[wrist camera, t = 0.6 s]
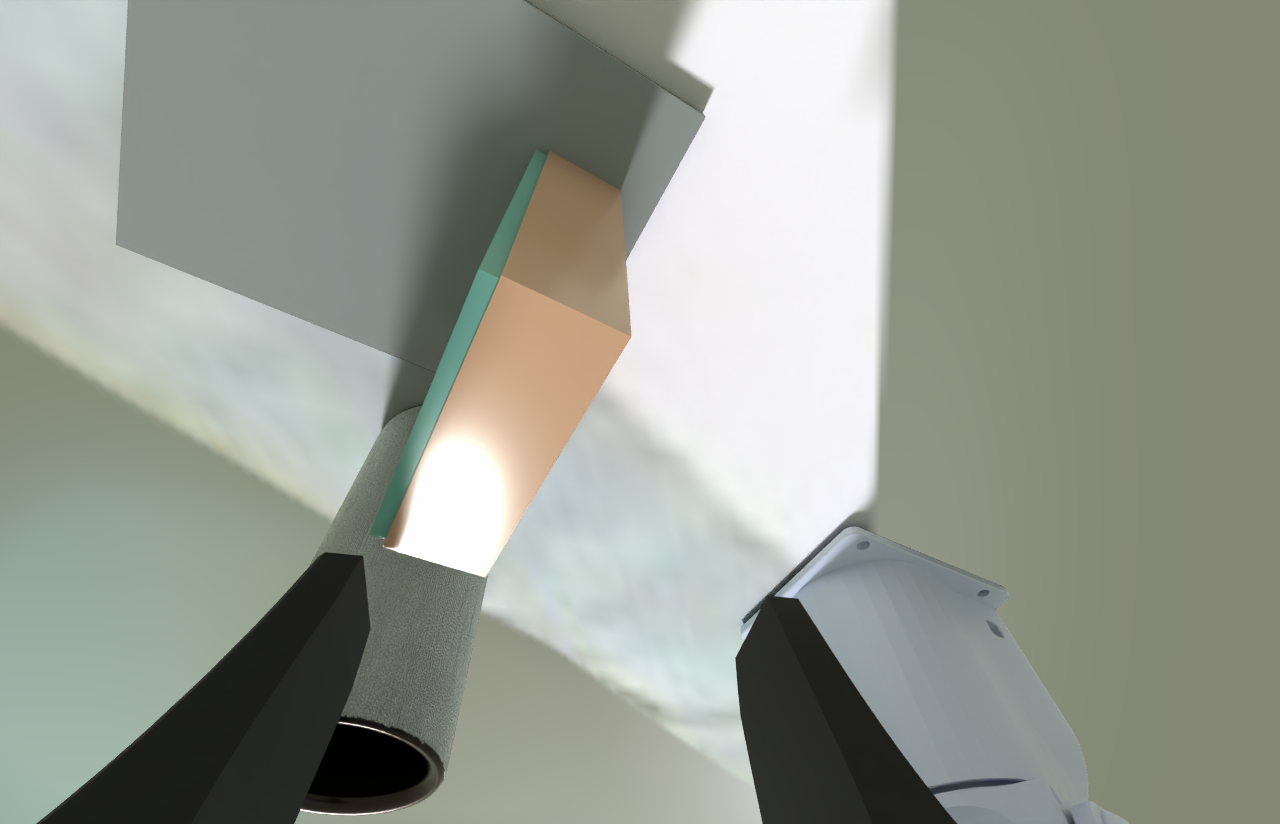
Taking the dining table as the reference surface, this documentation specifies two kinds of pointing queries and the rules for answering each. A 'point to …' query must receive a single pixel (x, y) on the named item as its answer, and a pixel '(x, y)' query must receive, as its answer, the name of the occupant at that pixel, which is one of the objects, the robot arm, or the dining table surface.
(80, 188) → the dining table surface
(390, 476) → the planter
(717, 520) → the dining table surface
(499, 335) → the tile
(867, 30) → the dining table surface
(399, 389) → the dining table surface
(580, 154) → the mat
